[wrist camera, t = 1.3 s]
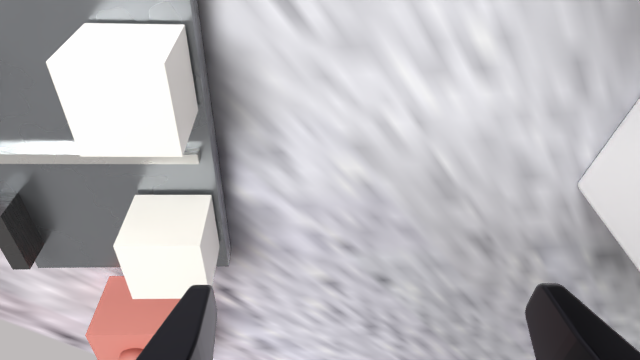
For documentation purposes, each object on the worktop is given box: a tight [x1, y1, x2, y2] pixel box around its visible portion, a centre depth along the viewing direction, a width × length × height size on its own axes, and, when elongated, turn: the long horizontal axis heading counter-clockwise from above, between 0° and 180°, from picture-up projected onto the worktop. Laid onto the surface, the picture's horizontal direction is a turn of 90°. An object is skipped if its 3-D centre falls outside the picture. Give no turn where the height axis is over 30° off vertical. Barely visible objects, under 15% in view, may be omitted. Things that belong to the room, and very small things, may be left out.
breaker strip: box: [0, 0, 231, 269], centre depth 20 cm, size 10×15×3 cm, turn 178°
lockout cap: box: [85, 276, 180, 360], centre depth 27 cm, size 4×4×5 cm
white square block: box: [46, 23, 198, 157], centre depth 16 cm, size 4×4×3 cm
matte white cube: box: [113, 195, 220, 299], centre depth 21 cm, size 4×4×3 cm
